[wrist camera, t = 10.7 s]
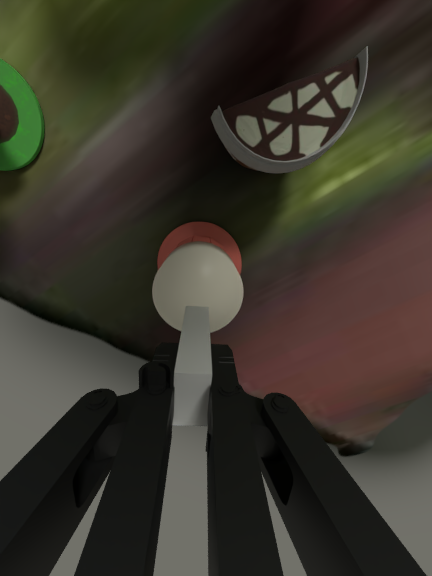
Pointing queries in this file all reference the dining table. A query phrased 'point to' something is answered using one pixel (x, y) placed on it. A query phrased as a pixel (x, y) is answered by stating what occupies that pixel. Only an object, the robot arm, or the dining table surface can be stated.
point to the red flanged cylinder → (200, 233)
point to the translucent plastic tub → (18, 120)
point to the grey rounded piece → (198, 284)
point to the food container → (293, 119)
